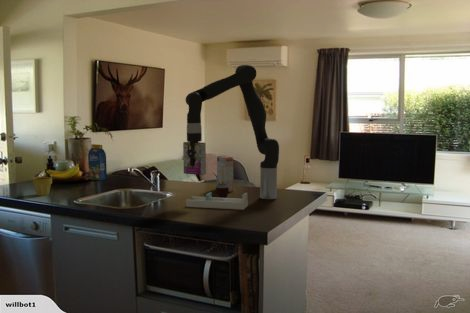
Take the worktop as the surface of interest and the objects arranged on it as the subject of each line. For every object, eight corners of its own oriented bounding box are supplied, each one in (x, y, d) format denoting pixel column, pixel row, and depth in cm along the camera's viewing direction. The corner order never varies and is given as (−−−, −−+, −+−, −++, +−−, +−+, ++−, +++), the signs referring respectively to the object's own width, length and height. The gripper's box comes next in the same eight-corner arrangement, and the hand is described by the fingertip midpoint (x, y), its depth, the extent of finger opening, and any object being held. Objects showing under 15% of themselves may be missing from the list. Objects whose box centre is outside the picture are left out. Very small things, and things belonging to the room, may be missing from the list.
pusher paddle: (209, 201, 234) (209, 192, 233) (226, 202, 232) (226, 193, 231) (205, 204, 227) (205, 194, 227) (222, 205, 225) (222, 195, 224)
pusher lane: (192, 202, 238) (192, 189, 237) (247, 205, 230) (247, 192, 230) (186, 206, 228) (186, 193, 228) (243, 209, 221) (243, 195, 221)
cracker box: (233, 191, 269) (233, 157, 267) (224, 192, 267) (224, 157, 265) (225, 188, 282) (225, 155, 280) (216, 188, 280) (216, 155, 278)
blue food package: (96, 178, 324) (94, 143, 321) (107, 179, 317) (105, 144, 314) (88, 179, 319) (87, 144, 316) (99, 180, 312) (98, 145, 309)
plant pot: (56, 193, 264) (55, 177, 263) (42, 196, 255) (41, 179, 254) (43, 192, 269) (43, 176, 268) (29, 195, 259) (28, 178, 258)
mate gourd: (231, 198, 250) (231, 171, 248) (222, 200, 243) (222, 173, 242) (220, 196, 254) (220, 170, 252) (211, 199, 247) (211, 172, 246)
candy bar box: (183, 173, 231) (182, 142, 230) (189, 172, 236) (188, 141, 234) (200, 175, 226) (200, 142, 224) (206, 174, 230) (206, 142, 228)
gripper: (196, 132, 221) (197, 166, 222) (205, 131, 234) (205, 163, 236) (182, 132, 222) (182, 166, 224) (191, 131, 236) (192, 163, 238)
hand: (194, 164), depth 230 cm, fingers closed on candy bar box, 6 cm apart
